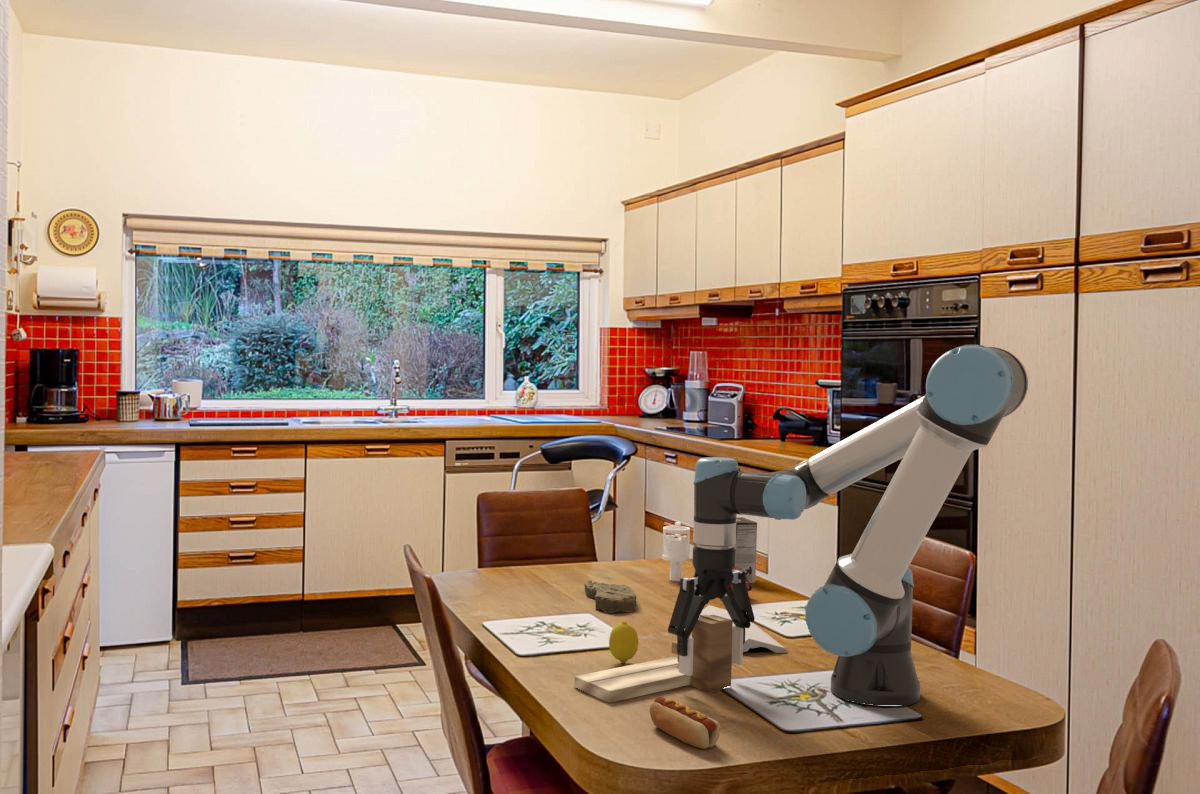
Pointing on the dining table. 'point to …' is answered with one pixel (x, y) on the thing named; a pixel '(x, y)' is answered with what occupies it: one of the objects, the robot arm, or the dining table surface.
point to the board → (633, 680)
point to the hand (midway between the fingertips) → (711, 668)
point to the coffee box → (746, 547)
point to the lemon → (623, 642)
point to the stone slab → (611, 596)
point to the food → (684, 723)
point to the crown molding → (749, 633)
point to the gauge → (711, 653)
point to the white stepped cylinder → (676, 548)
